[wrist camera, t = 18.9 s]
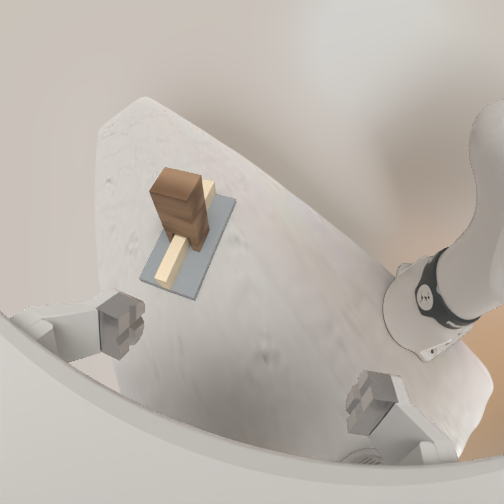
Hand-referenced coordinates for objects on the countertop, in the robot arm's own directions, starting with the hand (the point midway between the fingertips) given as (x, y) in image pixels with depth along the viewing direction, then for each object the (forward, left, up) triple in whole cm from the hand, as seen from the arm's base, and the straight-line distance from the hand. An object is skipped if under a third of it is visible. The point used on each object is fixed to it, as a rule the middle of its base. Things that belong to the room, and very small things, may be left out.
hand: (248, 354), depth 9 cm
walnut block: (+6, -24, -32) cm, 41 cm away
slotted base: (+6, -24, -33) cm, 42 cm away
